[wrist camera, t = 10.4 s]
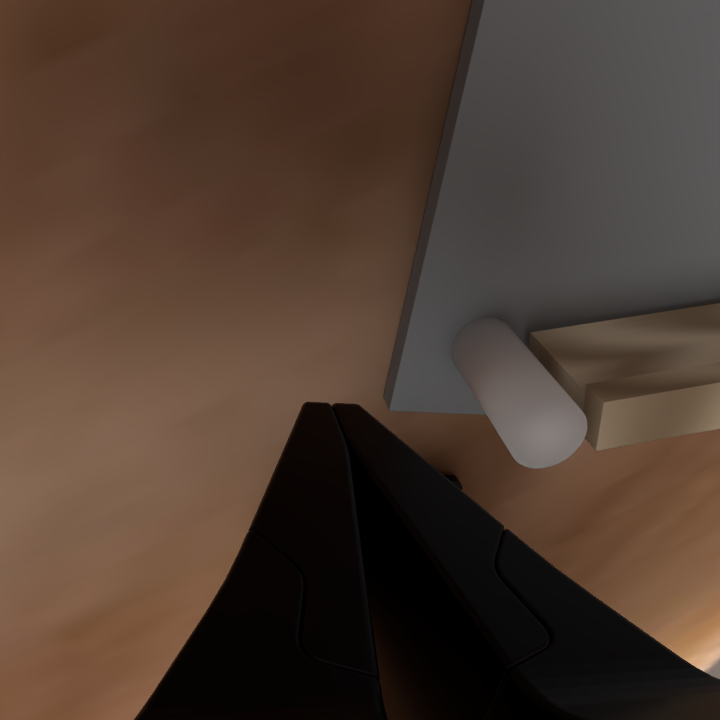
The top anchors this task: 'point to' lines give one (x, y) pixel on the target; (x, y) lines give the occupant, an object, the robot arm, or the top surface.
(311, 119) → the top surface
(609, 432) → the light wood bar
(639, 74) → the board
